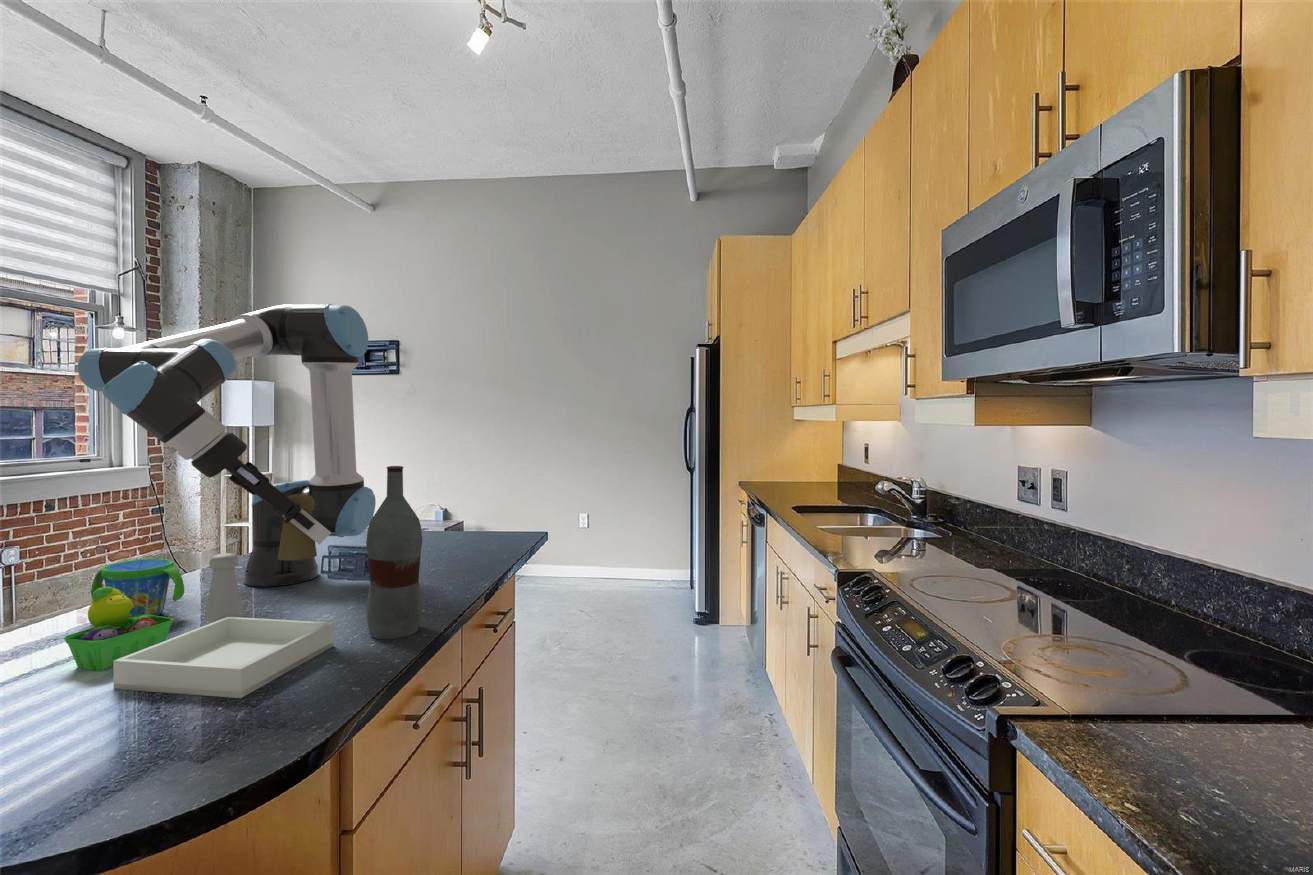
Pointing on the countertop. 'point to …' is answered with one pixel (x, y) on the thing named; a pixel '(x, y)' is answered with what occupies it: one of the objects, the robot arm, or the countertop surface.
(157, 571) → the snack cup
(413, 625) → the bottle
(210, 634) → the bin
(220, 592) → the salt shaker
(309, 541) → the cork
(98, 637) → the fruit basket
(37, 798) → the countertop surface
